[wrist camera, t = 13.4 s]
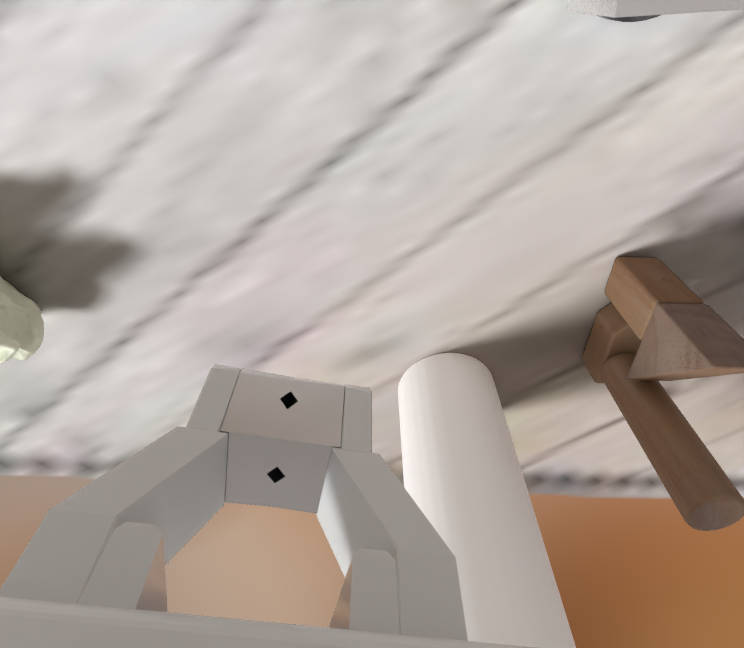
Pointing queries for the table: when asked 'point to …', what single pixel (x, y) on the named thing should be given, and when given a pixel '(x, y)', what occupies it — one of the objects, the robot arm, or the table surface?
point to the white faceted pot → (630, 18)
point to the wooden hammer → (666, 379)
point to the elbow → (650, 7)
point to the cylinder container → (478, 502)
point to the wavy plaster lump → (18, 324)
